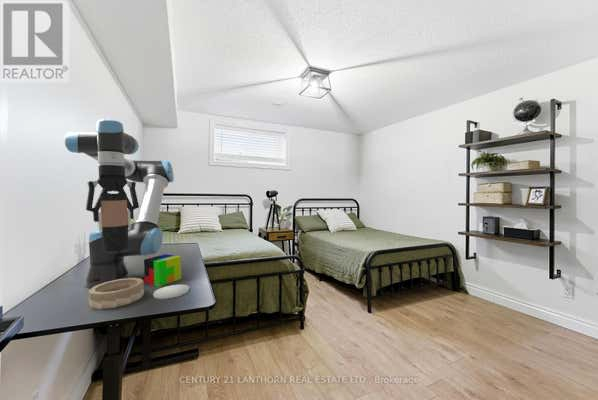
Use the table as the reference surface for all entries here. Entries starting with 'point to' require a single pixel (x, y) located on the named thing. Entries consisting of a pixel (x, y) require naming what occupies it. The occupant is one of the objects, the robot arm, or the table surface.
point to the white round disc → (171, 291)
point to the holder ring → (116, 293)
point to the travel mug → (114, 221)
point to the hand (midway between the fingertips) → (114, 229)
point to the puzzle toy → (162, 269)
